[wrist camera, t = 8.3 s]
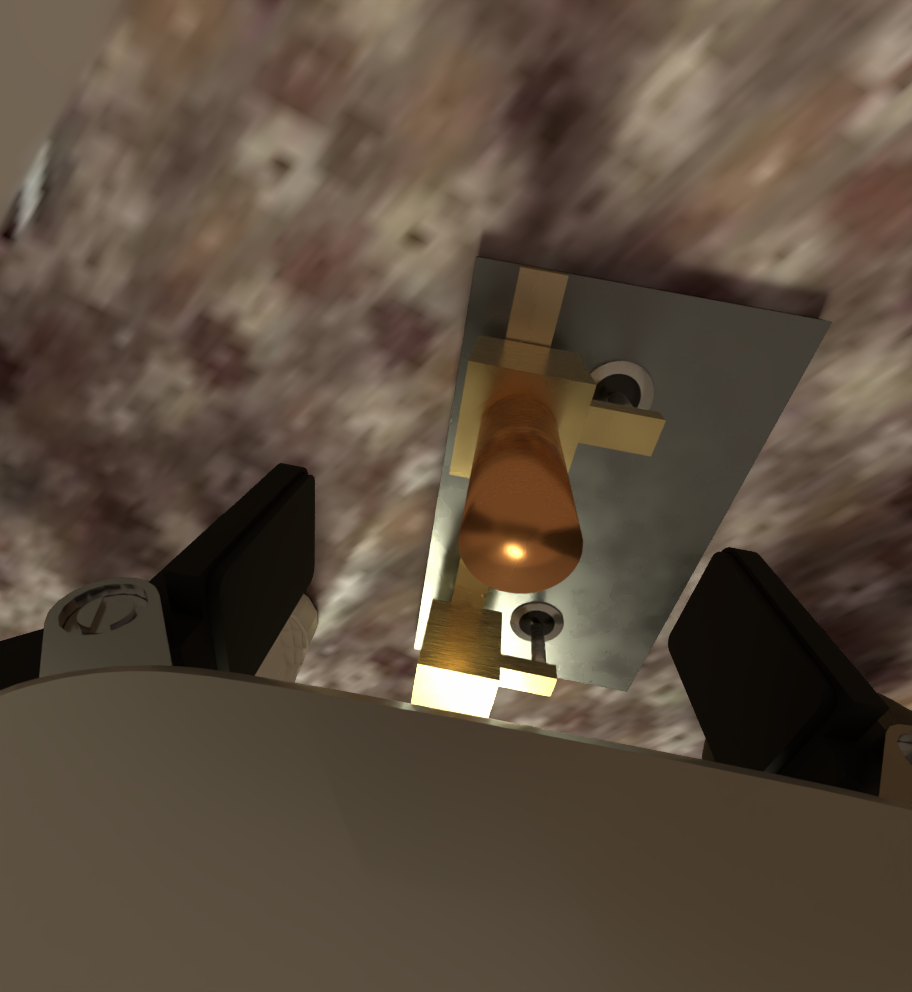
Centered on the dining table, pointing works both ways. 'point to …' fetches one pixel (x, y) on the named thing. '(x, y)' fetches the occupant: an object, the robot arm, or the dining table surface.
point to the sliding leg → (531, 459)
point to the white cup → (291, 644)
